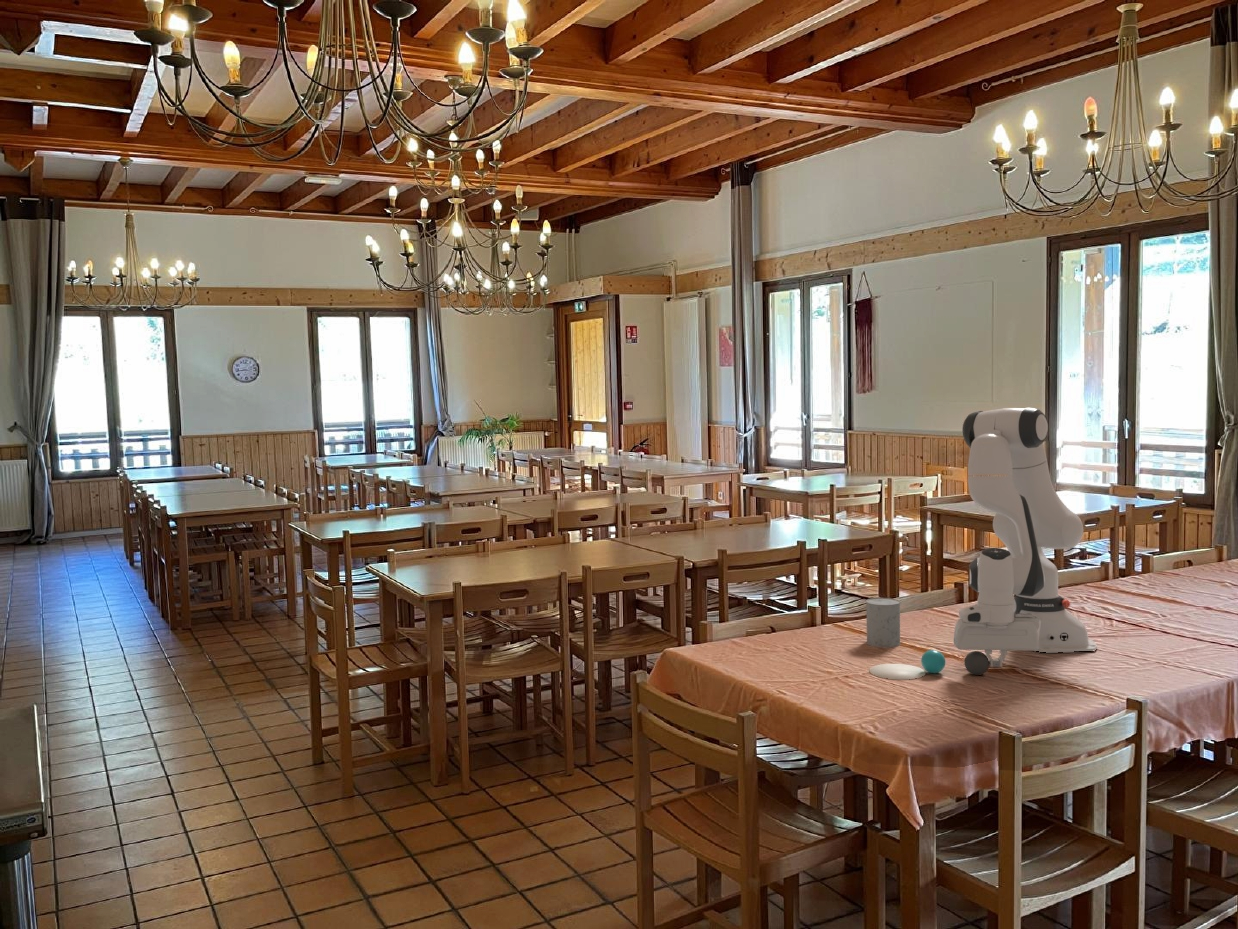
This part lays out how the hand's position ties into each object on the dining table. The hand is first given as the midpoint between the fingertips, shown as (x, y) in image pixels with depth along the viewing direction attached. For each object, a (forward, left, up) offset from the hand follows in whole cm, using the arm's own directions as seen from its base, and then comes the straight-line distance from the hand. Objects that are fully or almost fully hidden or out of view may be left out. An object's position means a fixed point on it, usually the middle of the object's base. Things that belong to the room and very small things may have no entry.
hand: (995, 666), depth 255 cm
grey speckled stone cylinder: (+26, -30, -3) cm, 40 cm away
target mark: (+24, -1, -2) cm, 24 cm away
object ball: (+15, -1, +1) cm, 15 cm away
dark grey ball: (+4, -1, +1) cm, 5 cm away
